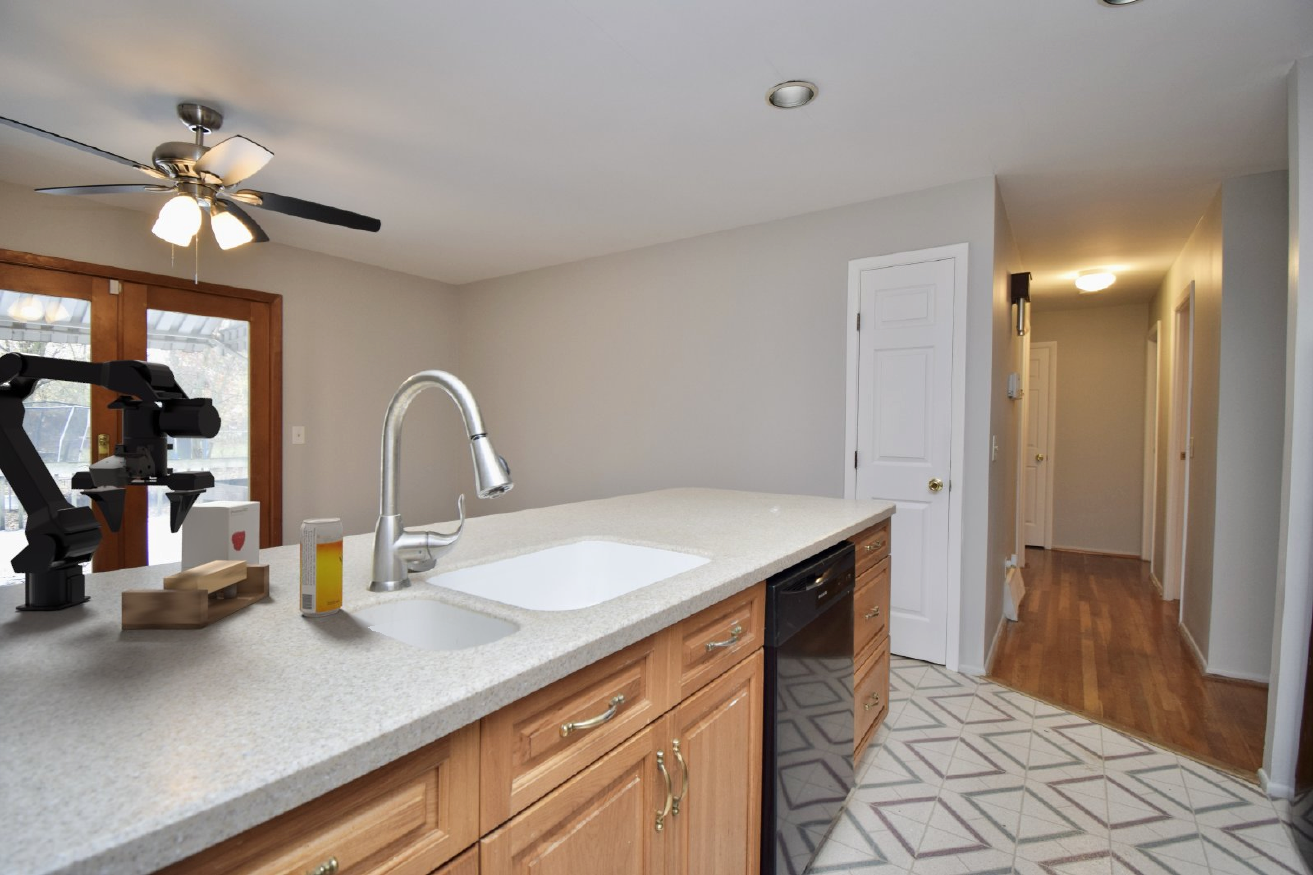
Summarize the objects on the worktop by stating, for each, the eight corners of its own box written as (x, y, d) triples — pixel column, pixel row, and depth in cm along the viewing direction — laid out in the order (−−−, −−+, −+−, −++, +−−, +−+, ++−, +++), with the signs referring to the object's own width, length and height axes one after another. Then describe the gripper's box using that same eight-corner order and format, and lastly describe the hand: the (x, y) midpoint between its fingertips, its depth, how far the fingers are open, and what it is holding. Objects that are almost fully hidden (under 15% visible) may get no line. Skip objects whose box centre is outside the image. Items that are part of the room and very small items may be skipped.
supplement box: (227, 589, 112) (228, 507, 111) (179, 587, 112) (179, 505, 111) (261, 576, 121) (261, 500, 120) (216, 575, 121) (216, 499, 120)
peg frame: (121, 629, 89) (121, 592, 89) (203, 594, 107) (204, 564, 107) (200, 628, 90) (200, 592, 90) (269, 594, 108) (269, 564, 108)
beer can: (350, 607, 102) (351, 517, 101) (327, 619, 96) (327, 523, 95) (315, 605, 102) (316, 516, 102) (290, 617, 96) (291, 522, 96)
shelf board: (163, 597, 92) (163, 578, 92) (216, 578, 104) (216, 560, 104) (197, 598, 93) (197, 578, 93) (246, 578, 105) (246, 560, 105)
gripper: (38, 438, 92) (38, 541, 92) (169, 440, 93) (169, 542, 93) (100, 436, 103) (100, 529, 103) (216, 438, 104) (216, 529, 104)
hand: (145, 532), depth 101 cm, fingers open, 9 cm apart
